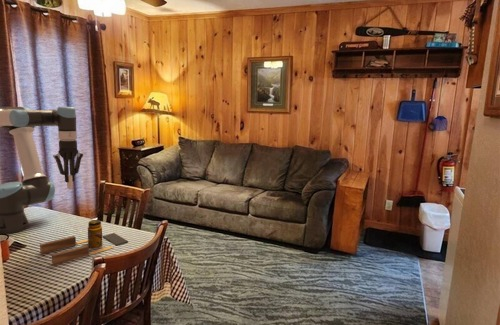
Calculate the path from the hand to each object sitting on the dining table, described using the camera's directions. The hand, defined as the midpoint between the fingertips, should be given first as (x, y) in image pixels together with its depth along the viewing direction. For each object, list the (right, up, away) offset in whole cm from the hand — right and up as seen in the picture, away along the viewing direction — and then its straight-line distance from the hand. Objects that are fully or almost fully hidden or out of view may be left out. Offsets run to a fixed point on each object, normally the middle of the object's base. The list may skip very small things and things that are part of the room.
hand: (70, 188), depth 160 cm
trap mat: (+21, -25, +2) cm, 33 cm away
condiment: (+14, -27, -6) cm, 31 cm away
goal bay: (+14, -26, -5) cm, 30 cm away
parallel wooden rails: (+6, -28, -15) cm, 32 cm away
